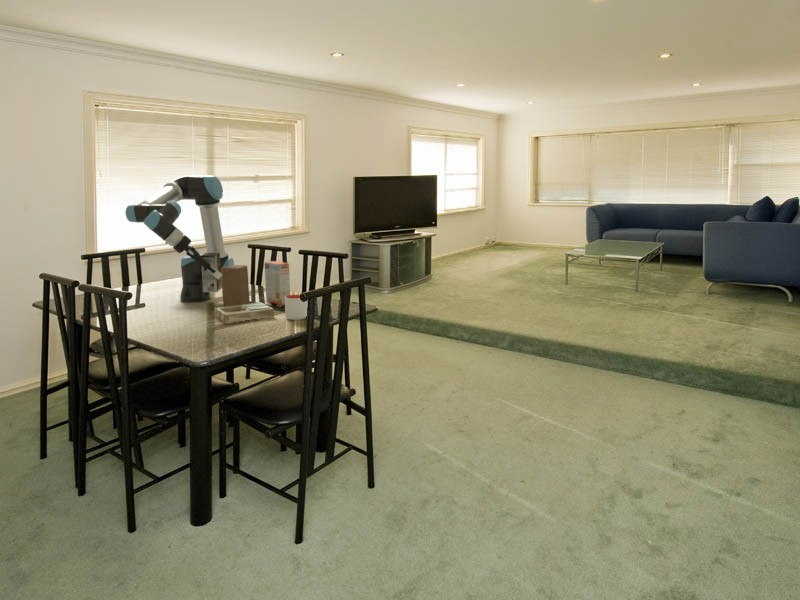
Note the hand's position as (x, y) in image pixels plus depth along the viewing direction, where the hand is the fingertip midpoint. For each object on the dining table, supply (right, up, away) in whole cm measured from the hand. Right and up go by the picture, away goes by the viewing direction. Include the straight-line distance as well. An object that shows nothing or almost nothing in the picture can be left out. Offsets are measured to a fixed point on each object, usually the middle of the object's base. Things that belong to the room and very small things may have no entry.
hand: (218, 275), depth 257 cm
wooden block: (-2, -14, +34) cm, 37 cm away
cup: (+33, -19, +8) cm, 39 cm away
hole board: (+8, -19, +11) cm, 23 cm away
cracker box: (+18, -13, +40) cm, 46 cm away
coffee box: (-3, -7, 0) cm, 7 cm away
